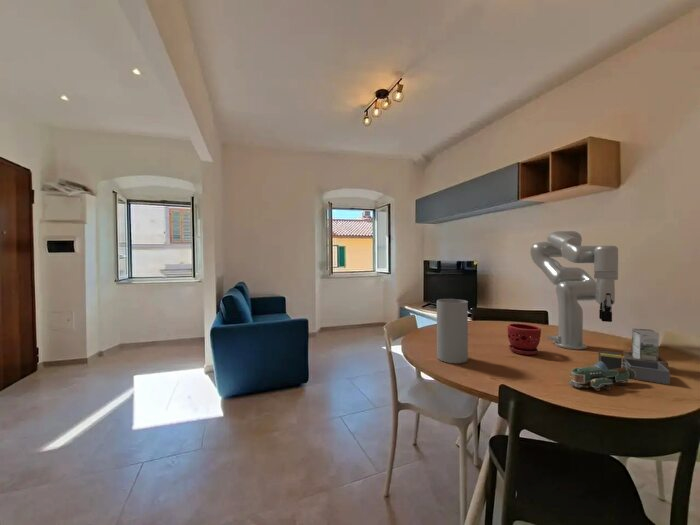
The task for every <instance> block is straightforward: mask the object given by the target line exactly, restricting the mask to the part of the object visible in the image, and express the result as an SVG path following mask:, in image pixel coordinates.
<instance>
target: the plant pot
mask: <svg viewBox="0 0 700 525" xmlns="http://www.w3.org/2000/svg"><path fill="white" fill-rule="evenodd" d="M541 335H542V328H541V327H539V326H535V325H532V324H527V323H526V324H523V323H509V324H508V325H507V338H508V342H509V345H508V348H509V350H510V351H511V352H513V353H515V354H519V355H526V356H529V355H531V356H532V355H536V354H538V352H539V349H538V346H540V345H539V344H540V341H541Z"/></svg>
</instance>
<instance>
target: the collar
mask: <svg viewBox="0 0 700 525" xmlns="http://www.w3.org/2000/svg"><path fill="white" fill-rule="evenodd" d="M623 358H628V359H636V360H644V361H652V362H659V363H661V364H662V365H663V366H664V367H665V368H666V369H668V370H669V362H668V361H667V360H666V359H664V358H663V357H661V356H660V355H659V354H658V361H654V360H646V359H638V358H633V357H632V351H629V350H628V351H627V350H623Z"/></svg>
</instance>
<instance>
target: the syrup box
mask: <svg viewBox="0 0 700 525" xmlns="http://www.w3.org/2000/svg"><path fill="white" fill-rule="evenodd" d="M631 330H632V331H631V332H632V333H631V352H632V357H633V358H638V359H646V360H654V361H658V355H659V342H660V341H659V340H660V333H659V332H657V331H655V330H653V329H650V328H649V329H648V328H647V329H646V328H632V329H631Z"/></svg>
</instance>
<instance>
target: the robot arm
mask: <svg viewBox="0 0 700 525" xmlns="http://www.w3.org/2000/svg"><path fill="white" fill-rule="evenodd" d="M546 238H547V239H546V240H547V241H540V242H536V243H534V244H533V245H531V247H530V257H531V259H532V262H533V263H534V264H535V265H536V266H537V267H538V268H539V269H540V270H541V271H542V272H543V273H544V274H545V276H546V277H547V278H548V279H549V281H550V282H551V283H552V285H554V286H556V288H555V292H556V297H557V304H558V309H557V310H558V318H557V319H558V333H557V335H549V334H547V336H546V337H547V338H546V339H547V340H550V341H554V344H555V346H557V347H560V348H564V349H570V350H586V349H587V348H588V346H587V344H585V343H584V340H583V339H584V337H583V335H584V330H583V328H584V327H583V326H584V325H583V324H584V316H583V315H584V311H583V308H582V306H581V304H579V302H578V301H585V302H586V301H589V302H590V301H595V302H596V303H598V304H599V310H598V312H599V314H598V315H599V319H600V320H601V322H605V323H606V322H608V323H612V322H613V308H612V305H614V304H615V302H616V301H615V300H616V288H615V284H616V283H615V282H616V281H619V248H618V247H617V246H616V245H582V241H583V239H582V235H581V234H580V233H579V232H578V231H574V230H573V231H572V230H569V231H568V230H567V231H566V230H565V231H563V230H562V231H560V230H559V231H553V232H551V233H549V234H548V236H547V237H546ZM555 258H563V259H564V260H567V261H568V262H571V263H574V264H593V277H592V276H591V275H590V274H589V273H588V272H587V271H585V269H582V268H580V267H573V266H571V267H570V266H569V267H565V266H562V264H561V263H560V262H559V261H557V260H556V259H555Z"/></svg>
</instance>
